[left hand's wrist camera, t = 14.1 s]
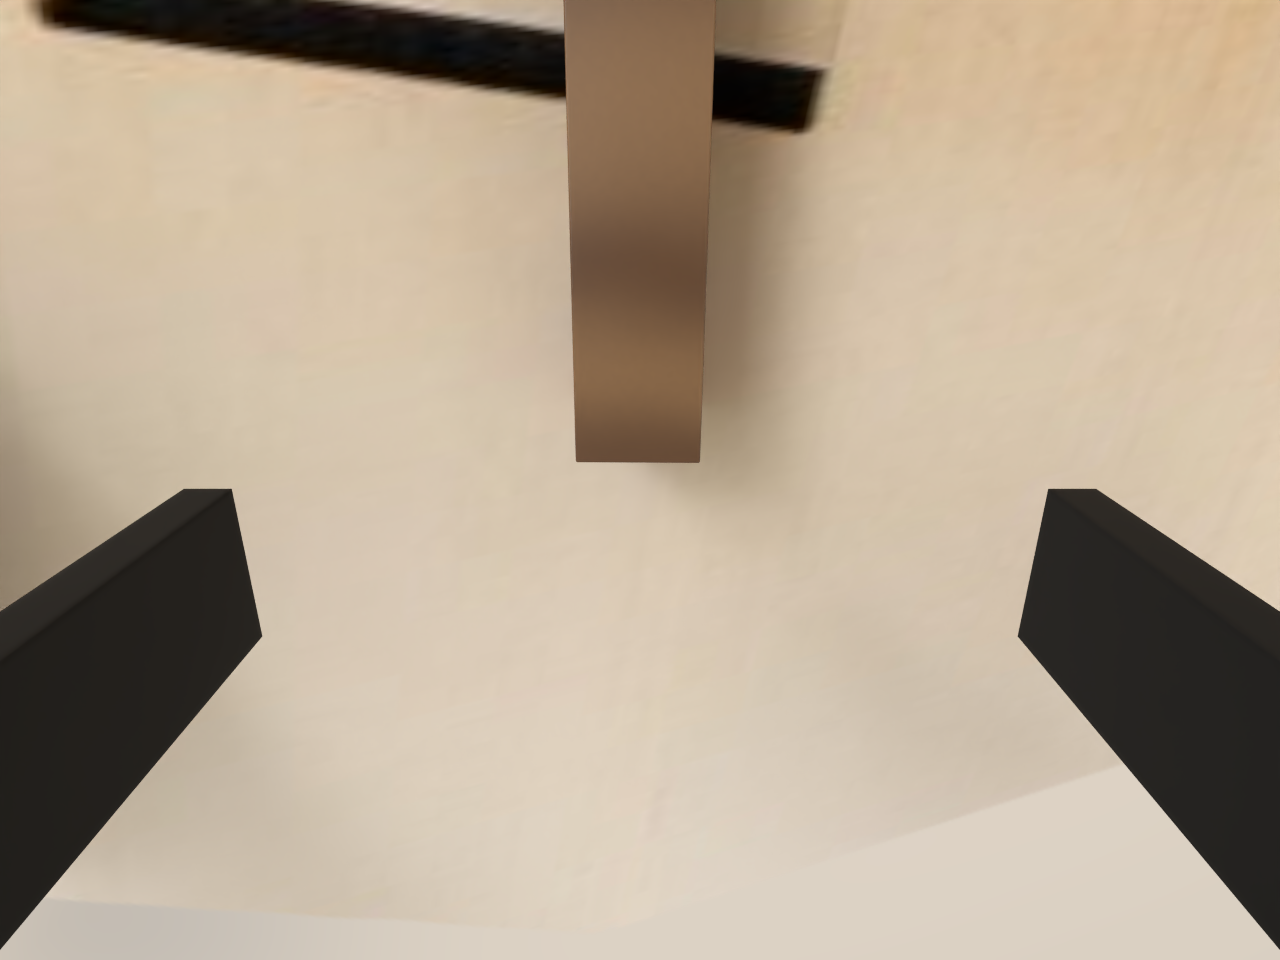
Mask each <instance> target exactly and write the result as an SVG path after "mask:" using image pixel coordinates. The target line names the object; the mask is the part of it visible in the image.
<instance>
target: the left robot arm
mask: <svg viewBox="0 0 1280 960" xmlns="http://www.w3.org/2000/svg"><path fill="white" fill-rule="evenodd" d="M261 637H262V633H261V628H260V623H259V619H258V614H257V609H256V604H255V599H254V594H253V590H252V585H251V580H250V575H249V570H248V565H247V561H246V556H245V551H244V546H243V541H242V536H241V532H240V527H239V522H238V517H237V512H236V508H235V503H234V498H233V493H232V489H183V490H182V491H180V492H179V493H177V494H176V495H174V496H173V497H171V498H170V499H168V500H167V501H165V502H164V503H162V504H161V505H159V506H158V507H156V508H155V509H153V510H152V511H150V512H149V513H147V514H146V515H144V516H143V517H141V518H140V519H138V520H137V521H135V522H134V523H132V524H131V525H129V526H128V527H126V528H125V529H123V530H122V531H120V532H119V533H117V534H116V535H114V536H113V537H111V538H110V539H108V540H107V541H105V542H104V543H102V544H101V545H99V546H98V547H96V548H95V549H93V550H92V551H90V552H89V553H87V554H86V555H84V556H83V557H81V558H80V559H78V560H77V561H75V562H74V563H72V564H71V565H69V566H68V567H66V568H65V569H63V570H62V571H60V572H59V573H57V574H56V575H54V576H53V577H51V578H50V579H48V580H47V581H45V582H44V583H42V584H41V585H39V586H38V587H36V588H35V589H33V590H32V591H30V592H29V593H27V594H26V595H24V596H23V597H21V598H20V599H18V600H17V601H15V602H14V603H12V604H11V605H9V606H8V607H6V608H5V609H3V610H2V611H0V949H1V948H2V947H3V946H4V945H5V943H6V942H7V941H8V940H9V939H10V937H11V936H12V935H13V934H14V932H15V931H16V930H17V929H18V928H19V927H20V925H21V924H22V923H23V922H24V921H25V919H26V918H27V917H28V916H29V915H30V913H31V912H32V911H33V910H34V909H35V907H36V906H37V905H38V904H39V903H40V901H41V900H42V899H43V898H44V897H45V895H46V894H47V893H48V892H49V891H50V890H51V888H52V887H53V886H54V885H55V884H56V882H57V881H58V880H59V879H60V878H61V876H62V875H63V874H64V873H65V872H66V870H67V869H68V868H69V867H70V866H71V864H72V863H73V862H74V861H75V860H76V858H77V857H78V856H79V855H80V854H81V852H82V851H83V850H84V849H85V848H86V846H87V845H88V844H89V843H90V842H91V840H92V839H93V838H94V837H95V836H96V834H97V833H98V832H99V831H100V830H101V829H102V827H103V826H104V825H105V824H106V823H107V821H108V820H109V819H110V818H111V817H112V815H113V814H114V813H115V812H116V811H117V809H118V808H119V807H120V806H121V805H122V803H123V802H124V801H125V800H126V799H127V797H128V796H129V795H130V794H131V793H132V791H133V790H134V789H135V788H136V787H137V785H138V784H139V783H140V782H141V781H142V779H143V778H144V777H145V776H146V775H147V774H148V772H149V771H150V770H151V769H152V768H153V766H154V765H155V764H156V763H157V762H158V760H159V759H160V758H161V757H162V756H163V754H164V753H165V752H166V751H167V750H168V748H169V747H170V746H171V745H172V744H173V742H174V741H175V740H176V739H177V738H178V736H179V735H180V734H181V733H182V732H183V730H184V729H185V728H186V727H187V726H188V724H189V723H190V722H191V721H192V720H193V718H194V717H195V716H196V715H197V714H198V713H199V711H200V710H201V709H202V708H203V707H204V705H205V704H206V703H207V702H208V701H209V699H210V698H211V697H212V696H213V695H214V693H215V692H216V691H217V690H218V689H219V687H220V686H221V685H222V684H223V683H224V681H225V680H226V679H227V678H228V677H229V675H230V674H231V673H232V672H233V671H234V669H235V668H236V667H237V666H238V665H239V663H240V662H241V661H242V660H243V659H244V657H245V656H246V655H247V654H248V653H249V652H250V650H251V649H252V648H253V647H254V646H255V644H256V643H257V642H258V641H259V640H260V638H261ZM1018 637H1019V638H1020V640H1021V641H1022V642H1023V643H1024V644H1025V646H1026V647H1027V648H1028V649H1029V650H1030V652H1031V653H1032V654H1033V655H1034V656H1035V657H1036V659H1037V660H1038V661H1039V662H1040V663H1041V665H1042V666H1043V667H1044V668H1045V669H1046V671H1047V672H1048V673H1049V674H1050V675H1051V677H1052V678H1053V679H1054V680H1055V681H1056V683H1057V684H1058V685H1059V686H1060V687H1061V689H1062V690H1063V691H1064V692H1065V693H1066V695H1067V696H1068V697H1069V698H1070V699H1071V701H1072V702H1073V703H1074V704H1075V705H1076V707H1077V708H1078V709H1079V710H1080V711H1081V713H1082V714H1083V715H1084V716H1085V717H1086V718H1087V720H1088V721H1089V722H1090V723H1091V724H1092V726H1093V727H1094V728H1095V729H1096V730H1097V732H1098V733H1099V734H1100V735H1101V736H1102V738H1103V739H1104V740H1105V741H1106V742H1107V744H1108V745H1109V746H1110V747H1111V748H1112V750H1113V751H1114V752H1115V753H1116V754H1117V756H1118V757H1119V758H1120V759H1121V760H1122V762H1123V763H1124V764H1125V765H1126V766H1127V767H1128V769H1129V770H1130V771H1131V772H1132V774H1133V775H1134V776H1135V777H1136V778H1137V779H1138V781H1139V782H1140V783H1141V784H1142V785H1143V787H1144V788H1145V789H1146V790H1147V791H1148V793H1149V794H1150V795H1151V796H1152V797H1153V799H1154V800H1155V801H1156V802H1157V803H1158V805H1159V806H1160V807H1161V808H1162V809H1163V811H1164V812H1165V813H1166V814H1167V815H1168V817H1169V818H1170V819H1171V820H1172V821H1173V823H1174V824H1175V825H1176V826H1177V827H1178V829H1179V830H1180V831H1181V832H1182V833H1183V834H1184V836H1185V837H1186V838H1187V839H1188V840H1189V842H1190V843H1191V844H1192V845H1193V846H1194V848H1195V849H1196V850H1197V851H1198V852H1199V854H1200V855H1201V856H1202V857H1203V858H1204V860H1205V861H1206V862H1207V863H1208V864H1209V866H1210V867H1211V868H1212V869H1213V870H1214V872H1215V873H1216V874H1217V875H1218V876H1219V878H1220V879H1221V880H1222V881H1223V882H1224V883H1225V885H1226V886H1227V887H1228V888H1229V890H1230V891H1231V892H1232V893H1233V894H1234V895H1235V897H1236V898H1237V899H1238V900H1239V901H1240V903H1241V904H1242V905H1243V906H1244V907H1245V909H1246V910H1247V911H1248V912H1249V913H1250V915H1251V916H1252V917H1253V918H1254V919H1255V921H1256V922H1257V923H1258V924H1259V925H1260V927H1261V928H1262V929H1263V930H1264V931H1265V933H1266V934H1267V935H1268V936H1269V937H1270V939H1271V940H1272V941H1273V942H1274V943H1275V945H1276V946H1277V947H1278V948H1279V949H1280V611H1278V610H1277V609H1275V608H1274V607H1272V606H1271V605H1269V604H1268V603H1266V602H1265V601H1263V600H1262V599H1260V598H1259V597H1257V596H1256V595H1254V594H1253V593H1251V592H1250V591H1248V590H1247V589H1245V588H1244V587H1242V586H1241V585H1239V584H1238V583H1236V582H1235V581H1233V580H1232V579H1230V578H1229V577H1227V576H1226V575H1224V574H1223V573H1221V572H1220V571H1218V570H1217V569H1215V568H1214V567H1212V566H1211V565H1209V564H1208V563H1206V562H1205V561H1203V560H1202V559H1200V558H1199V557H1197V556H1196V555H1194V554H1193V553H1191V552H1190V551H1188V550H1187V549H1185V548H1184V547H1182V546H1181V545H1179V544H1178V543H1176V542H1175V541H1173V540H1172V539H1170V538H1169V537H1167V536H1166V535H1164V534H1163V533H1161V532H1160V531H1158V530H1157V529H1155V528H1154V527H1152V526H1151V525H1149V524H1148V523H1146V522H1145V521H1143V520H1142V519H1140V518H1139V517H1137V516H1136V515H1134V514H1133V513H1131V512H1130V511H1128V510H1127V509H1125V508H1124V507H1122V506H1121V505H1119V504H1118V503H1116V502H1115V501H1113V500H1112V499H1110V498H1109V497H1107V496H1106V495H1104V494H1103V493H1101V492H1100V491H1098V490H1097V489H1048V493H1047V498H1046V503H1045V508H1044V512H1043V517H1042V522H1041V527H1040V532H1039V536H1038V541H1037V546H1036V551H1035V556H1034V561H1033V565H1032V570H1031V575H1030V580H1029V585H1028V590H1027V594H1026V599H1025V604H1024V609H1023V614H1022V619H1021V623H1020V628H1019V633H1018Z"/></svg>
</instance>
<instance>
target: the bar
mask: <svg viewBox="0 0 1280 960" xmlns="http://www.w3.org/2000/svg"><path fill="white" fill-rule="evenodd" d="M715 18H716V0H564V33H565V71H566V108H567V145H568V183H569V220H570V258H571V295H572V332H573V370H574V407H575V445H576V462H660V463H699V462H700V444H701V416H702V387H703V359H704V330H705V302H706V273H707V245H708V217H709V188H710V160H711V131H712V103H713V75H714V46H715Z"/></svg>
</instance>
